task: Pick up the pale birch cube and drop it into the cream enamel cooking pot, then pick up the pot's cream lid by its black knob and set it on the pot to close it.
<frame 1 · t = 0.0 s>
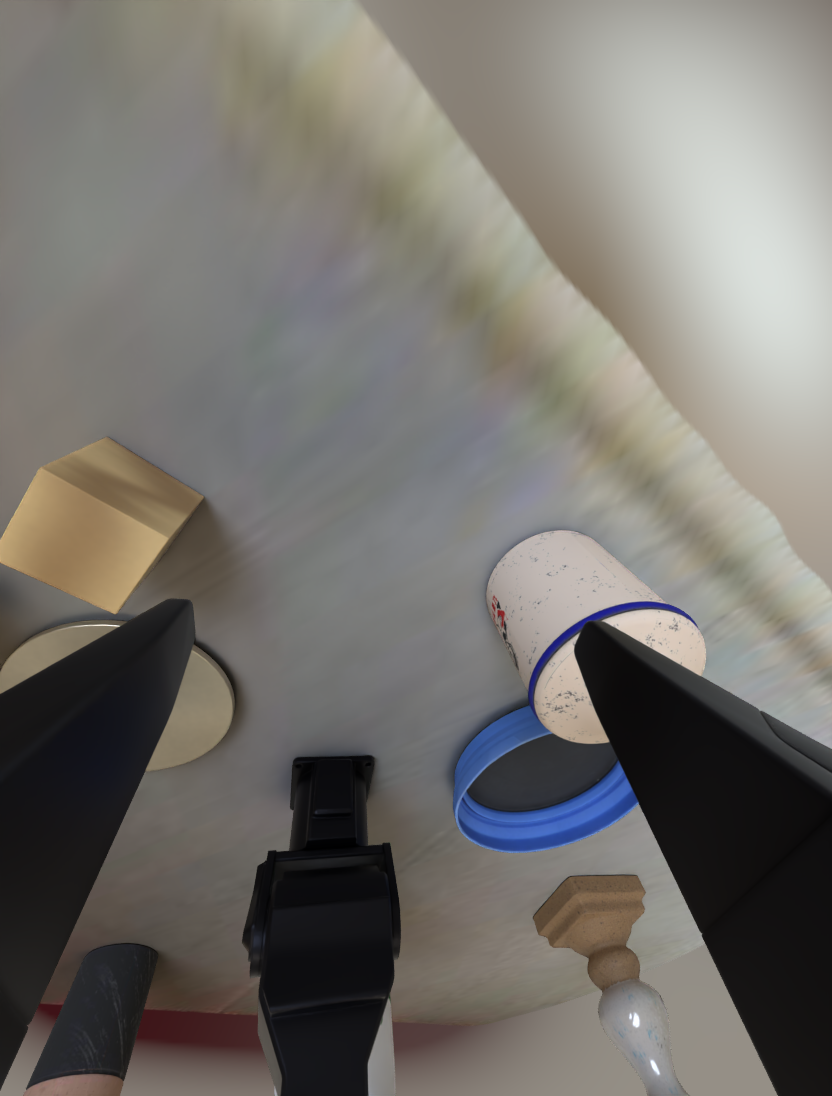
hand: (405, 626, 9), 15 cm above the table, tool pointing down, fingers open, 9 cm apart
milk carton: (338, 877, 43), on the table
travel mug: (122, 956, 44), on the table
bowl: (541, 756, 38), on the table
lid: (126, 700, 27), point 1 cm above the table
candle holder: (583, 895, 54), on the table
teacup with lid: (555, 593, 29), on the table
cube: (135, 503, 22), on the table
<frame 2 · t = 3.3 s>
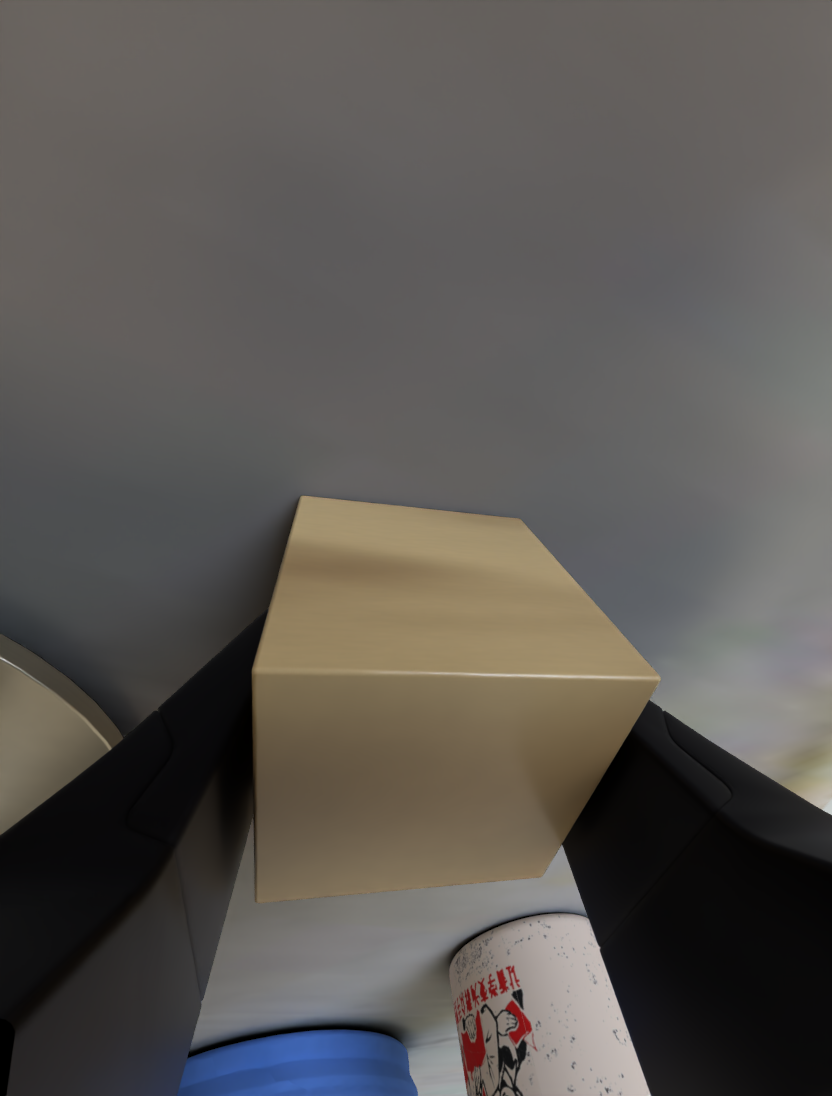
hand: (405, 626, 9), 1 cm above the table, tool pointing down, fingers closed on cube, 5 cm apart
bowl: (278, 1067, 27), on the table
teacup with lid: (513, 953, 23), on the table
cube: (399, 599, 10), on the table, touching gripper
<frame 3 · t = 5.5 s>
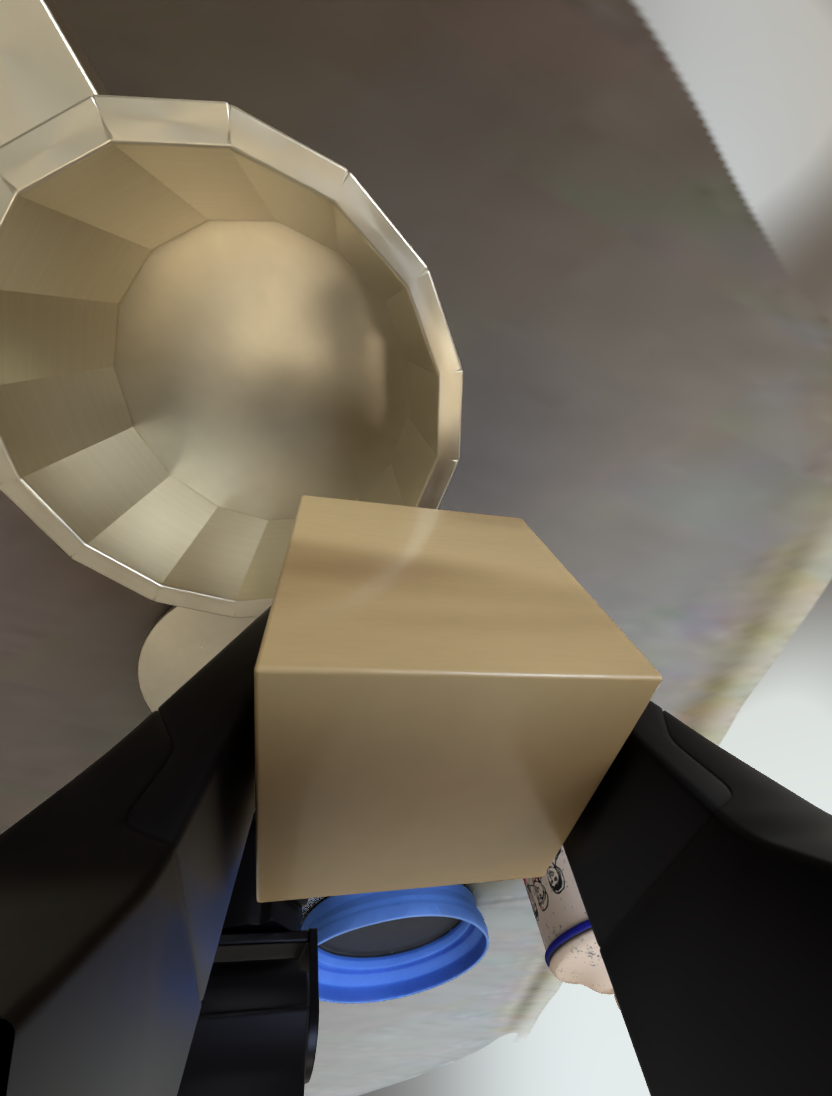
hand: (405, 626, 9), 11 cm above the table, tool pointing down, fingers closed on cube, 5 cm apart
bowl: (389, 913, 40), on the table
lid: (274, 677, 23), point 1 cm above the table
pot: (273, 391, 17), on the table
teacup with lid: (547, 823, 37), on the table
cube: (400, 598, 10), point 10 cm above the table, touching gripper
when the fingers open (5 cm above the table, at t = 8.0 s): cube drops 4 cm, resting on pot.
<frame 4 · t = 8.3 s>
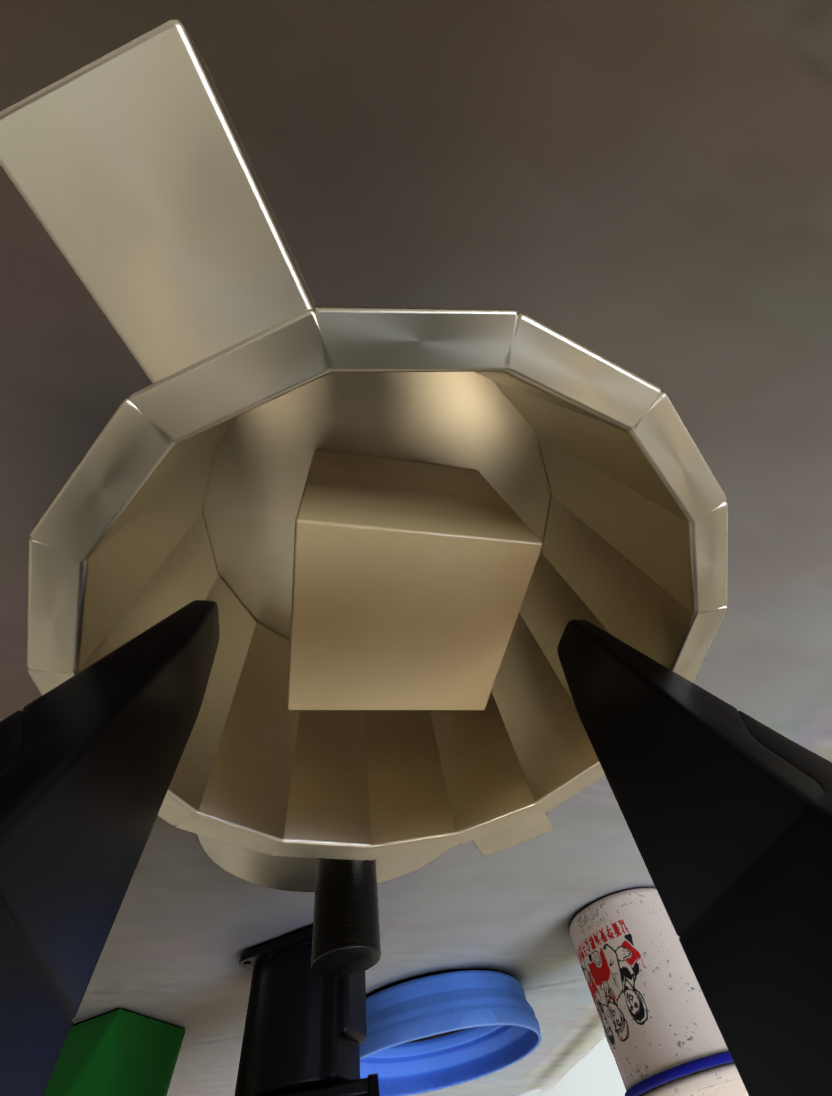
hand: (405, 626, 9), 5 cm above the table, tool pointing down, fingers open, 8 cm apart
milk carton: (115, 1029, 30), on the table
bowl: (431, 1002, 38), on the table
lid: (346, 811, 20), point 1 cm above the table
pot: (386, 528, 14), on the table
teacup with lid: (608, 917, 34), on the table
cube: (388, 533, 13), resting on pot
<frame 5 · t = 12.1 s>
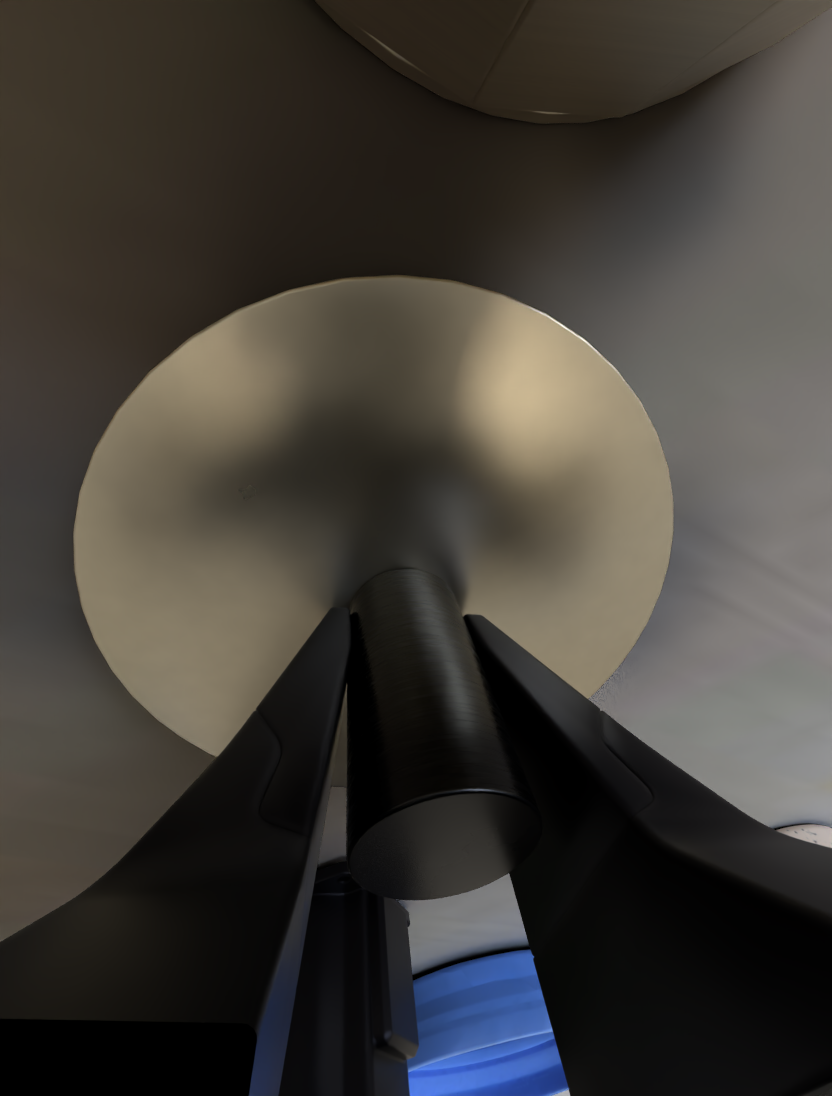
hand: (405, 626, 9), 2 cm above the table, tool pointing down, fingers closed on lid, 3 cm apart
bowl: (482, 994, 27), on the table
lid: (400, 602, 10), point 1 cm above the table, touching gripper
teacup with lid: (742, 873, 24), on the table
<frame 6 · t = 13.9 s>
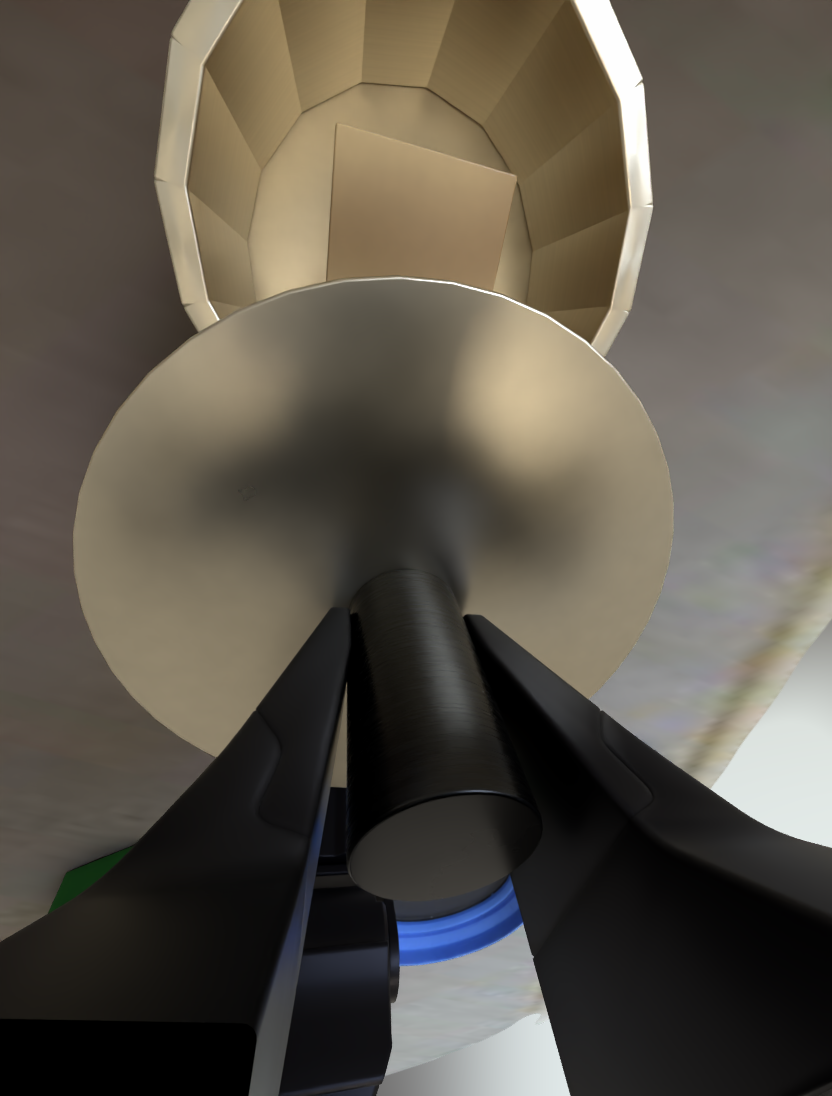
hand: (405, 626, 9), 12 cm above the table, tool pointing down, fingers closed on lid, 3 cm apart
milk carton: (140, 871, 33), on the table
bowl: (433, 874, 40), on the table
lid: (400, 602, 10), point 11 cm above the table, touching gripper
pot: (395, 282, 17), on the table
cube: (397, 280, 16), resting on pot
when the fingers open (8 cm above the table, at t = 15.9 s): lid stays where it is, resting on pot.
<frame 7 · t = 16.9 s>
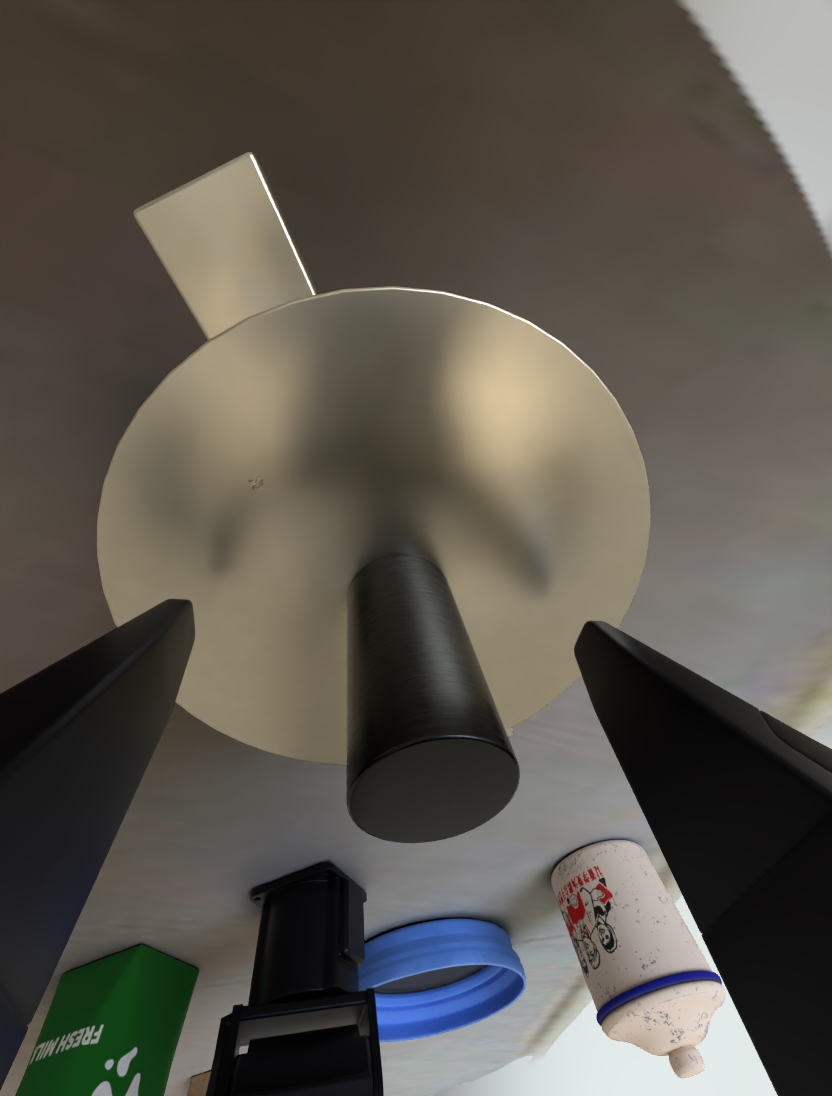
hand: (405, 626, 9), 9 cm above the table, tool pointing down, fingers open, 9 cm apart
milk carton: (136, 967, 33), on the table
bowl: (424, 953, 41), on the table
lid: (397, 587, 11), point 7 cm above the table, touching pot
candle holder: (255, 1070, 50), on the table
pot: (379, 493, 17), on the table
teacup with lid: (587, 870, 37), on the table
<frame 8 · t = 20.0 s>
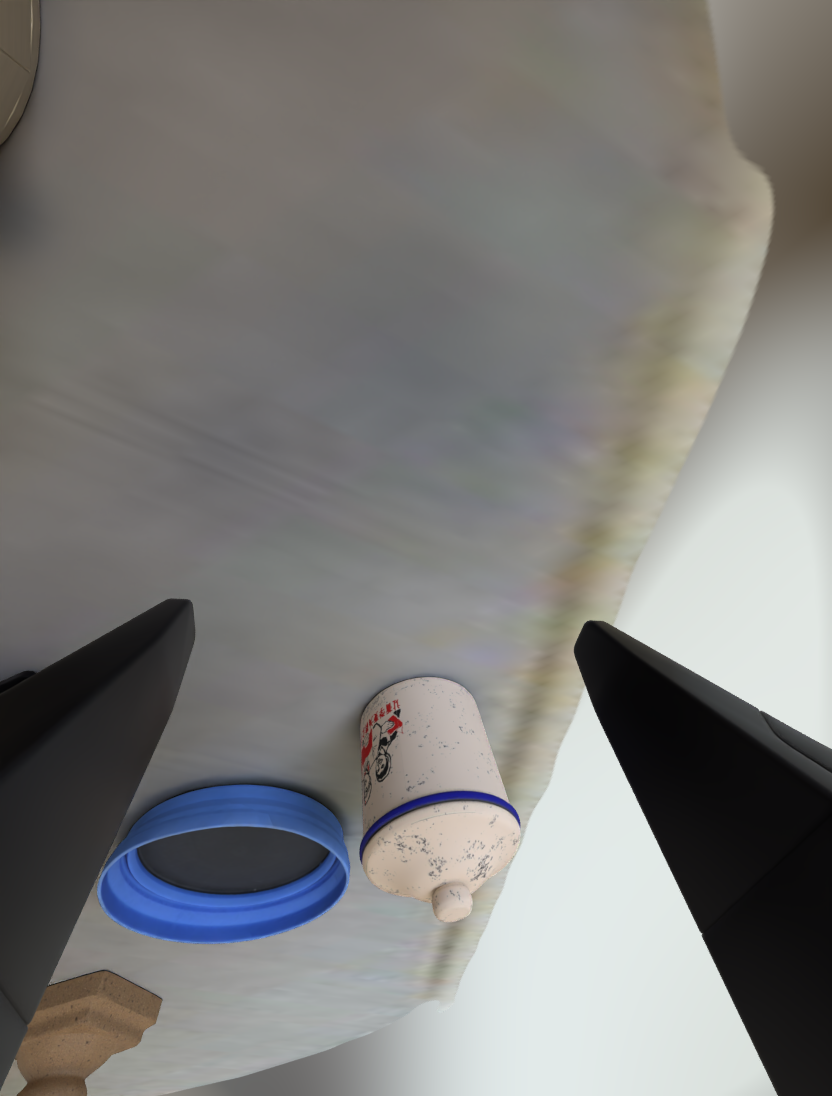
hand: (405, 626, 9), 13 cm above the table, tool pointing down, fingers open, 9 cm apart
bowl: (241, 839, 35), on the table
candle holder: (89, 997, 44), on the table
teacup with lid: (413, 727, 31), on the table
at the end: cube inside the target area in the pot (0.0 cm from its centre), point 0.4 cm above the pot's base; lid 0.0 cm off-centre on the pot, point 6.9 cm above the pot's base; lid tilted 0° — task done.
